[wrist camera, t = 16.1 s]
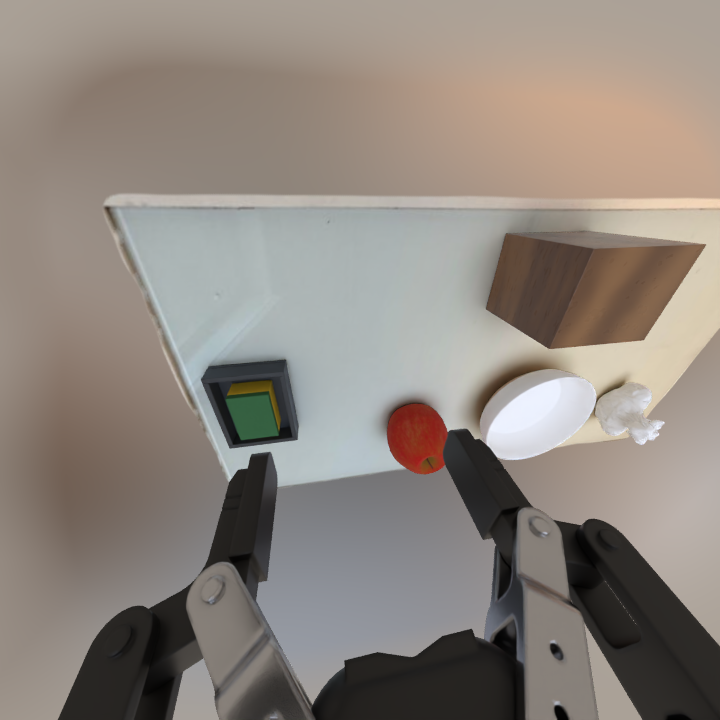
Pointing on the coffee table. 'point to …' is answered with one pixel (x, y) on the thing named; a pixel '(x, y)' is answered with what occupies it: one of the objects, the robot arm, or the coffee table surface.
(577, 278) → the wooden block
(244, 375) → the tray
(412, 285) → the coffee table surface
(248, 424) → the sponge
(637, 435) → the bust
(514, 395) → the bowl
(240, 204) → the coffee table surface
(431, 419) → the apple
